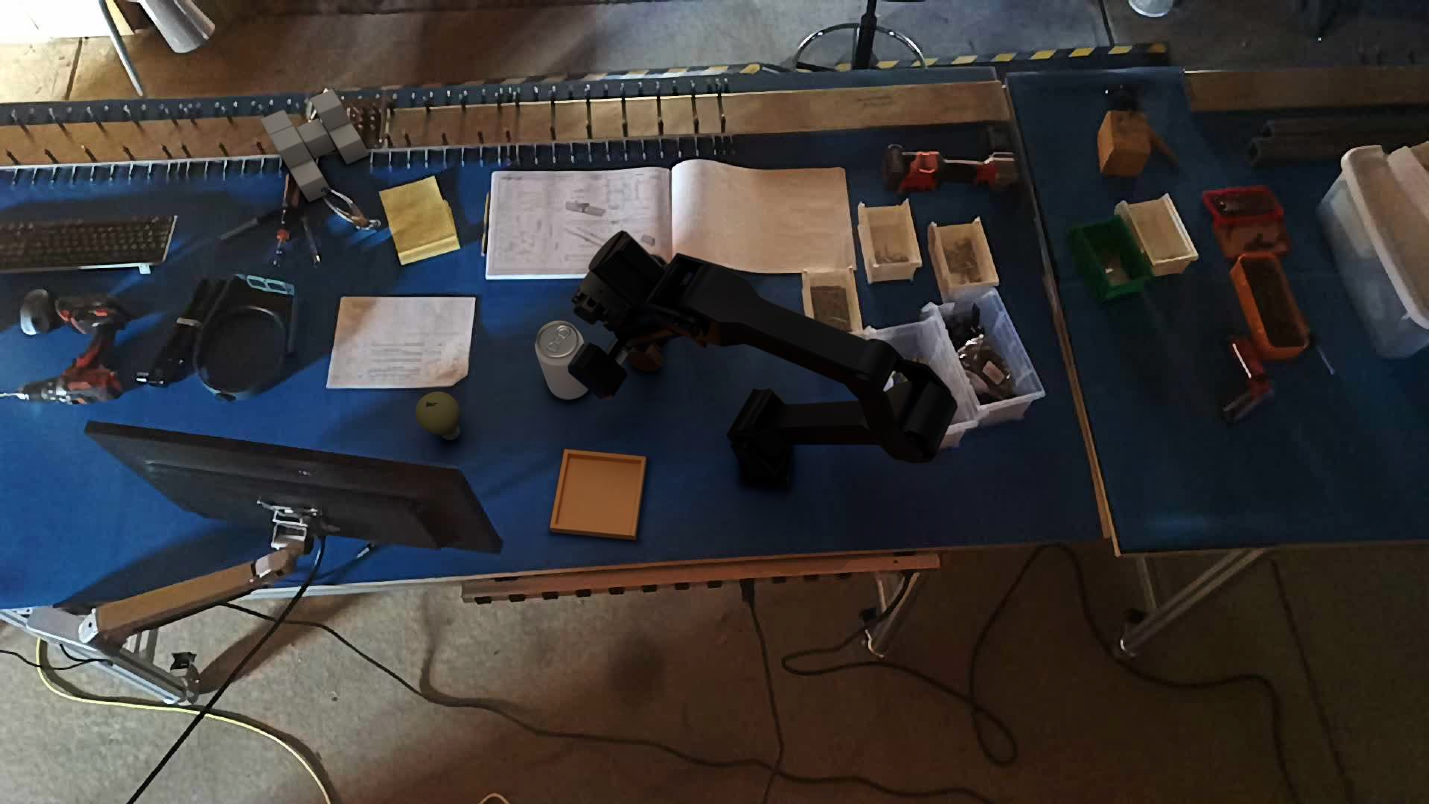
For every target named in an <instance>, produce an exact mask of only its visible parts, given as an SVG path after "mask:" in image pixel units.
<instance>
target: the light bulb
mask: <svg viewBox="0 0 1429 804" xmlns="http://www.w3.org/2000/svg"><path fill="white" fill-rule="evenodd" d="M414 414H415V419H416V422H417V423H418V425H419V427H420V428H421V429H423V430H424V431H425V432H428V433H430V434H432V435H439V436H441V437H442V438H443V439H445V440H446V441H453V440H455V439H457V438H458V436H459V435H460V432H461V430H460V427H459V426H458V423H459V421H460V417H461V409H460V407H459V404H458V402H457V400H456V399H455V398H454V397H453V396H452V395H451V394H449V393H446V392H444V391H433V392H428V393H427V394H425V395H424V396H423V397H421V398H420V399H419V400H418V402H417V404H416V407H415V412H414Z"/></svg>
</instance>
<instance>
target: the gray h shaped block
mask: <svg viewBox="0 0 1429 804" xmlns="http://www.w3.org/2000/svg"><path fill="white" fill-rule="evenodd" d="M309 101H310V103H311V105H312V107H313V108H314V110H315V112H316V114H317V116H318V118H316V119H313V120H310V121H308V122H305V123H304V124H301V125H298V126H297V127H296V128H295V126H294V124H293V122H292V121H291V119H290V117H289V115H288V114H287V112H286V110H285V109H282V110H279V111H277V112H274V113H271V114H270V115H269V114H268V115H267V116H264V117H262V118H261V119H260V122H261V124H262V125H263V128H264V129H265V131H266V133H267V134H268V136H269V138H270V140H271V141H272V143H273V145H274V147H275V149H276V151H277V152H278V154H279V155H280V158H281V159H282V161H283V162H284V163H285V165H286V167H287V168H288V170H289V171H290V173H291V175H292V177H293V178H294V180H295V182H296V184H297V186H298V187H299V189H300V190H301V192H302V194H303V196H304V197H305V199H306V200H307V201H308V203H311V202H313V201H315V200H318V199H320V198H322V197H324V196H327V195H328V194H327V193H325V192H324V191H323V192H321V188H323V187H329V189H330V190H331V191H332V189H331V187H330V185H329V184H328V182H327V181H326V178H325V177H324V175H323V174H322V171H321V170H320V168H319V167H318V165H317V163H316V161H315V159H317V158H319V157H322V156H324V155H326V154H329V153H332V152H333V151H336V150H338V152H339V154H340V156H341V157H342V159H343V161H344V162H345V164H346V165H350V164H352V163H354V162H357V161H359V160H361V159H363V158H365V157H367V156H369V152H368V150H367V148H366V146H365V143H364V142H363V139H362V138H361V136H360V134H359V133H358V131H357V130H356V128H355V126H354V125H353V124H352V122H351V120H350V117H349V116H348V113H347V112H346V110H345V107H344V106H343V104H342V102H341V100H340V99H339V97H338V95H337V94H336V93H335V91H334V89H329V90H327V91H325V92H321V93H320V94H317V95H315V96H313V97H310V98H309ZM320 192H321V193H320Z"/></svg>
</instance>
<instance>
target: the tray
mask: <svg viewBox="0 0 1429 804" xmlns="http://www.w3.org/2000/svg"><path fill="white" fill-rule="evenodd" d="M562 456H563V457H562V460H561V466H560V469H559V470H560V471H559V476H558V480H557V481H558V482H557V486H556V493H555V498H554V503H553V509H552V514H551V520H550V525H549V529H550V531H551V532H552V533H555V534H556V533H557V534H565V535H577V536H588V537H598V538H607V539H608V538H609V539H618V540H619V539H620V540H629V541H630V540H631V541H636V540H637V535H638V529H639V528H638V527H639V521H640V514H641V507H642V499H643V493H644V487H645V486H644V485H645V478H646V471H647V465H648V460H647V457H646V456H643V455H642V456H641V455H632V454H623V453H622V454H620V453H611V452H599V451H591V450H579V449H567V448H565V449H564V450H563V454H562Z"/></svg>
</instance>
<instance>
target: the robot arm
mask: <svg viewBox="0 0 1429 804" xmlns="http://www.w3.org/2000/svg"><path fill="white" fill-rule="evenodd" d="M587 269H588V270H589V271H588V272H587V274H586V275H585V276H584V277H583V279H582V280H581V281H580V283H579V285H578V289H577V291H576V292H575V294H574V295H573V296H572V298H571V299H570V301H571V303H573V304H574V307H573V309H572V312H573V314H574V315H575V316H576V317H577V318H580V319H581V320H582V321H584V322H586V323H587V324H589V325H592V326H593V325H596V323H597V322H598V321H599V322H601V323H602V326H603V327H604V328H605V329H606V330H607V331H608V332H609V333H611V332H613V335H614V336H615V337H614V338H613V339H612V341H610V343H609V345H608V346H607V348H606V350H604V349H603V348H601V347H600V346H599V345H597V344H594V343H593V342H586V343H584V344H582V345H581V347H580V348H579V350H578V351H577V353H576V354H575V355H574V357H573V358H572V360H571V362H570V363H569V364H568V366H567V367H568V373H569V374H571V375H572V376H573V377H574V378H575V379H576V380H578V381H579V382H580V383H581V384H582V385H584V386H585V387H586V388H587V389H588V391H589V392H591V393H592V395H594V396H595V397H597V398H598V399H599V400H607V399H612V398H614V396H615V395H616V394H617V392H618V391H619V389H620V388H621V386H623V385H622V384H623V383H624V382H625V380H626V379H627V377H628V373H627V370H626V368H625V367H623V366H622V364H623V362H624V360H626V356H627V355H628V353H629V352H630V350H631V349H632V347H633V348H634V349H635V350H636V351H637V352H639V353H640V354H644V353H645V352H646V351H647V349H648V348H649V346H650V345H651V344H652V345H653V346H654V347H655V348H656V349H657V350H659V351H660V350H663V349H664V348H665V346H666V345H667V343H668V341H669V340H673V339H678V338H682V337H686V338H689V339H691V340H692V341H694V342H695V343H696V344H697V345H698V346H699V347H701V348H702V349H705V348H707V346H708V345H709V344H711V345H714V346H718V347H720V348H726V347H732V346H738V345H739V346H740V345H745V346H750V347H753V348H755V349H758V350H760V351H762V352H765V353H767V354H770V355H772V356H774V357H776V358H780V359H782V360H785V361H787V362H789V363H792V364H794V365H796V366H799V367H801V368H803V369H805V370H808V371H811V372H813V373H816V374H818V375H821V376H823V377H825V378H828V379H830V380H831V381H834V382H837V383H840V384H842V385H844V386H845V387H846V388H847V390H849V392H851V394H852V395H853V396H855V398H856V399H854V400H838V401H837V400H836V401H822V402H821V401H820V402H804V403H802V402H801V403H787V402H786V401H785V400H784V399H783V398H782V397H781V396H780V394H778V393H777V392H774V390H773V389H772V388H770V387H768V388H765V389H759V388H758V389H757V388H753V389H752V390H751V392H750V394H749V395H748V396H747V399H746V400H745V401H744V404H743V405H742V407H741V408H740V411H739V412H738V414H737V416H736V417H735V419H734V421H733V422H732V424H731V426H730V427H729V428H728V431H727V433H726V434H725V436H726V438H727V439H728V441H730V442H731V443H730V445H729V447H730V449H731V451H732V453H733V456H735V459H736V461H737V463H738V468H739V469H741V477H740V481H741V483H742V484H747V485H748V484H749V485H759V486H769V487H780V488H787V487H788V486H789V484H790V472H791V466H792V461H793V455H794V454H793V453H794V446H879V447H880V448H881V449H882V450H883V451H884V452H885V453H886V454H888V455H889V457H890V458H892V459H893V460H894V461H903V462H904V463H905V462H906V463H909V464H924V463H925V464H926V463H930V462H933V461H934V459H935V458H936V456H937V453H938V451H939V449H940V447H941V445H942V444H943V441H944V438H945V436H946V434H947V432H948V430H949V428H950V425H951V423H952V421H953V419H954V416H955V414H956V413H957V410H958V408H959V405H958V401H957V400H956V398H955V397H954V396H953V395H952V391H951V389H950V387H949V386H948V385H947V384H946V383H945V382H944V381H943V379H942V378H941V377H940V376H939V375H938V374H937V373H936V371H934V369H932V367H930V365H928V364H927V363H924V362H920V361H915V360H912V359H911V360H910V359H906V358H904V357H903V356H902V355H901V353H900V352H899V351H898V350H897V349H896V348H895V347H894V346H892V345H891V344H890V343H889V342H887V341H885V340H883V339H881V338H873V337H872V338H870V337H869V338H868V339H866V338H863V337H861V336H858V335H855V334H853V333H851V332H848V331H846V330H843V329H841V328H838V327H836V326H833V325H830V324H828V323H826V322H823V321H820V320H818V319H815V318H813V317H811V316H808V315H805V314H802V313H800V312H798V311H795V310H792V309H790V308H787V307H785V306H782V305H781V304H780V305H779V304H778V303H775V302H772V301H770V300H768V299H766V298H764V297H762V296H760V294H759V293H758V292H757V290H756V289H755V287H754V286H753V284H752V283H751V282H750V280H749V279H748V278H746V277H744V276H743V275H740V274H738V273H736V272H735V271H732V270H731V269H730V268H728V267H727V266H724V265H722V264H718V263H715V262H712V261H708V260H705V259H702V258H697V257H694V256H691V255H688V254H685V253H680V252H676V253H675V255H674V256H673V257H672V259H671V260H670V262H667V260H666V259H665V258H664V257H663V256H661V255H658V254H653V253H649V252H648V251H647V250H646V249H645V248H644V247H643V245H641V244H640V243H639V242H638V241H637V240H636V239H635V238H634V237H633V236H632V235H631V234H630V233H629V232H628V231H627V230H623V229H621V230H620V231H618V232H616V233H615V234H613V235H612V236H611V237H610V238H609V239H608V240H607V241H606V242H605V243H604V244H603V245H602V246H601V247H600V248H599V249H598V251H596V253H595V254H594V255H593V257H592V258H591V260H590V261H589V264H588V267H587ZM689 274H692V275H691V276H690V278H689V279H688V281H687V282H686V280H685V279H686V278H687V277H688V275H689ZM685 282H686V285H685ZM893 372H898V373H901V375H902V376H903V377H904V378H905V379H906V381H902V382H901V381H900V382H897V383H894V384H893V385H892V386H890V387H889V388H888V389H886V390H885V388H886V387H887V384H888V382H889V380H890V378H891V376H892V374H893ZM744 479H745V480H744ZM785 483H786V484H785Z"/></svg>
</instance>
